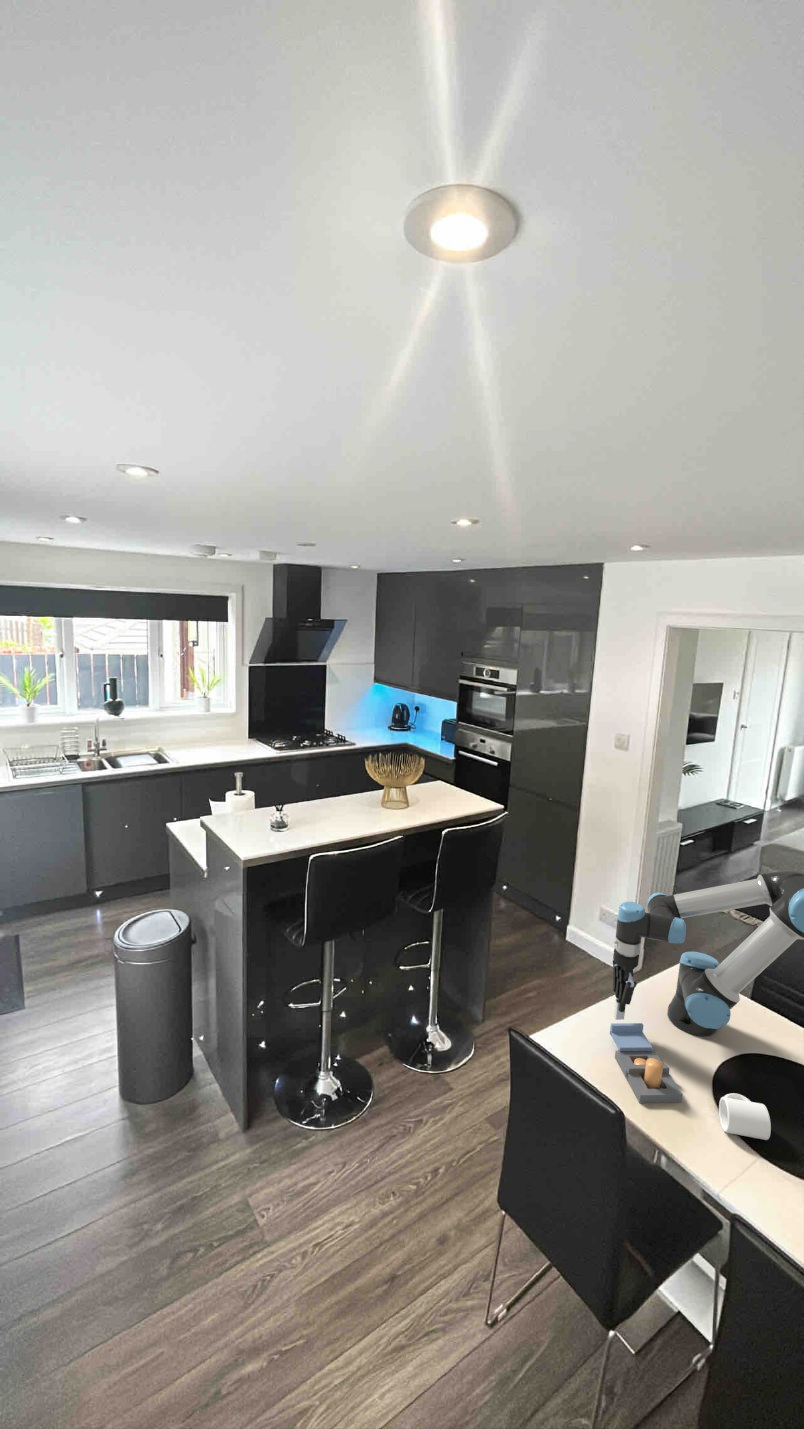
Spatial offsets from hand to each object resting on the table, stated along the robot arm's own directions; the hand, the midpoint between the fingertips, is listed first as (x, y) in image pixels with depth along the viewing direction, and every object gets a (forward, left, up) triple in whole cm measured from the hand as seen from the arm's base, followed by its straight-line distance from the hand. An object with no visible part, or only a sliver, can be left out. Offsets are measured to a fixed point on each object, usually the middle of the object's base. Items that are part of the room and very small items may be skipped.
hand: (618, 1017), depth 199 cm
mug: (-18, +37, -5) cm, 41 cm away
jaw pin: (0, +24, -4) cm, 25 cm away
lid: (0, +9, -1) cm, 9 cm away
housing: (0, +21, -4) cm, 21 cm away
